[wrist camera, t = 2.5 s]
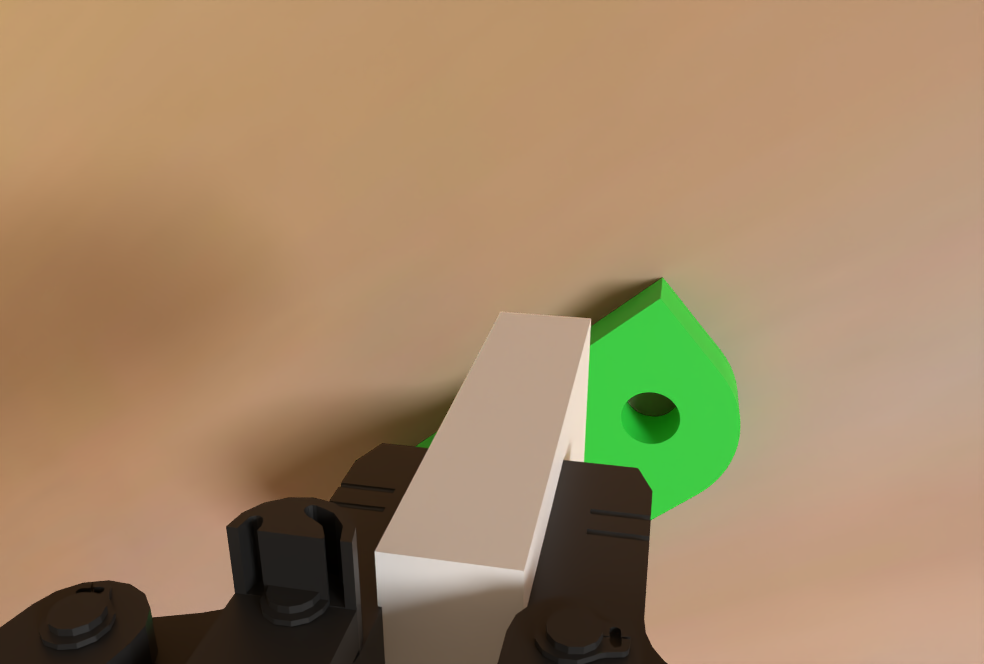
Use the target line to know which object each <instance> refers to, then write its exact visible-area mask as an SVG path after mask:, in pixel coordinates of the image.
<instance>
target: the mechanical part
mask: <svg viewBox="0 0 984 664" xmlns="http://www.w3.org/2000/svg"><path fill="white" fill-rule="evenodd" d="M645 392H653V393H658V394H661V395H664V396H666V397H667V398H669V399H670V400H671V401H672V402H673V403H674V404H675V405H676V407H675V408H674V409H673V410H672V411H671V412H669V413H667V414H665V415H661V416H646V415H643V414H641V413H639V412H637V411H635V410H634V409H633V408H632V407H631V406H630V405H629V403H628V400H629V399H630V398H632V397H633V396H635V395H637V394H640V393H645ZM436 433H437V432H436ZM436 433H434V434H433V435H431V436H430V437H428V438H427V439H425V440H424V441H423V442H421V443H420V444H418V445H417V446H415V447H422V448H429V447H430V445H431V443H432V441H433V439H434V437H435V435H436ZM739 436H740V414H739V403H738V393H737V386H736V381H735V377H734V374H733V371H732V369H731V367H730V364H729V363H728V361H727V359H726V357H725V356H724V354H723V353H722V352H721V350H720V349H719V348H718V346H717V345H716V344H715V343H714V341H713V340H712V339H711V338H710V336H709V335H708V334H707V333H706V331H705V330H704V329H703V328H702V326H701V325H700V324H699V323H698V321H697V320H696V319H695V317H694V316H693V315H692V314H691V312H690V311H689V310H688V309H687V307H686V306H685V305H684V304H683V302H682V301H681V300H680V299H679V297H678V296H677V295H676V294H675V292H674V291H673V290H672V289H671V287H670V286H669V285H668V283H667V282H666V281H665V280H664V278H663V277H662V278H661V279H659V280H658V281H657V282H655V283H654V284H652V285H651V286H649V287H648V288H646V289H645V290H643V291H642V292H640V293H639V294H638V295H636V296H635V297H633V298H632V299H630V300H629V301H627V302H626V303H624V304H623V305H621V306H620V307H618V308H617V309H616V310H614V311H613V312H611V313H610V314H608V315H607V316H605V317H604V318H602V319H601V320H599V321H598V322H597V323H595V324H594V325H592V326H591V331H590V351H589V371H588V391H587V411H586V431H585V451H584V462H587V463H597V464H606V465H616V466H625V467H634V468H638V469H639V470H640V472H641V473H642V475H643V477H644V478H645V480H646V481H647V483H648V485H649V486H650V488H651V489H652V491H653V492H652V507H651V520H652V519H654V518H656V517H658V516H659V515H661V514H663V513H665V512H667V511H668V510H670V509H672V508H674V507H676V506H677V505H679V504H681V503H683V502H685V501H686V500H688V499H690V498H692V497H694V496H695V495H697V494H699V493H700V492H702V491H704V490H705V489H707V488H708V487H709V486H710V485H712V484H713V483H714V482H715V481H716V480H717V479H718V478H719V477H720V476H721V475H722V474H723V472H724V471H725V470H726V468H727V467H728V465H729V464H730V462H731V460H732V458H733V456H734V454H735V451H736V449H737V446H738V441H739Z"/></svg>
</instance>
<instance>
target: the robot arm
mask: <svg viewBox="0 0 984 664" xmlns="http://www.w3.org/2000/svg"><path fill="white" fill-rule="evenodd" d="M590 331H591V318H579V317H566V316H554V315H541V314H528V313H515V312H502V311H500V313H499V315H498V317H497V319H496V321H495V323H494V325H493V326H492V328H491V330H490V332H489V334H488V336H487V338H486V340H485V342H484V344H483V346H482V347H481V349H480V351H479V353H478V355H477V357H476V359H475V361H474V363H473V365H472V367H471V368H470V370H469V372H468V374H467V376H466V378H465V380H464V382H463V384H462V386H461V388H460V389H459V391H458V393H457V395H456V397H455V399H454V401H453V403H452V405H451V407H450V409H449V410H448V412H447V414H446V416H445V418H444V420H443V422H442V424H441V426H440V428H439V430H438V431H437V433H436V435H435V437H434V439H433V441H432V443H431V445H430V447H429V448H422V447H413V446H404V445H394V444H385V443H382V444H381V445H379V446H377V447H376V448H374V449H373V450H371V451H370V452H368V453H367V454H365V455H364V456H362V457H361V458H359V459H358V460H356V461H355V463H354V464H353V466H352V467H351V469H350V470H349V472H348V473H347V475H346V476H345V478H344V480H343V481H342V483H341V487H338V489H337V490H336V492H335V493H334V495H333V496H332V498H331V499H330V502H329V501H325V500H321V499H317V498H284V499H280V500H275V501H270V502H266V503H263V504H260V505H258V506H256V507H254V508H252V509H249V510H247V511H245V512H243V513H241V514H240V515H239V516H238V517H237V518H236V519H234V520H233V521H232V522H231V523H230V524H229V525H227V526H226V529H227V536H228V544H229V551H230V559H231V566H232V573H233V581H234V588H235V594H234V595H233V597H232V598H231V600H230V601H229V603H228V604H227V605H226V607H225V608H224V609H222V610H216V611H210V612H204V613H195V614H185V615H174V616H164V617H153V618H152V615H151V609H150V606H149V603H148V601H147V598H146V595H145V594H144V593H143V592H141V591H140V590H138V589H137V588H135V587H134V586H132V585H131V584H126V583H120V582H115V581H109V580H108V581H97V582H86V583H81V584H78V585H74V586H71V587H68V588H65V589H62V590H58V591H56V592H54V593H52V594H50V595H49V596H47V597H45V598H43V599H41V600H40V601H38V602H36V603H34V604H32V605H31V606H30V607H28V608H27V609H25V610H24V611H23V612H21V613H20V614H18V615H17V616H16V617H14V618H13V619H11V620H10V621H9V622H7V623H6V624H4V625H3V626H2V627H0V664H667V663H666V662H665V661H664V660H663V659H662V658H661V657H660V656H659V654H658V653H657V652H656V651H655V650H654V648H653V647H652V645H651V643H650V641H649V639H648V637H647V635H646V632H645V623H644V612H645V597H646V582H647V567H648V552H649V537H650V522H651V507H652V492H653V491H652V489H651V488H650V486H649V485H648V483H647V481H646V480H645V478H644V477H643V475H642V473H641V472H640V470H639V469H638V468H634V467H625V466H616V465H606V464H597V463H587V462H584V451H585V431H586V411H587V391H588V371H589V351H590Z"/></svg>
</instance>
